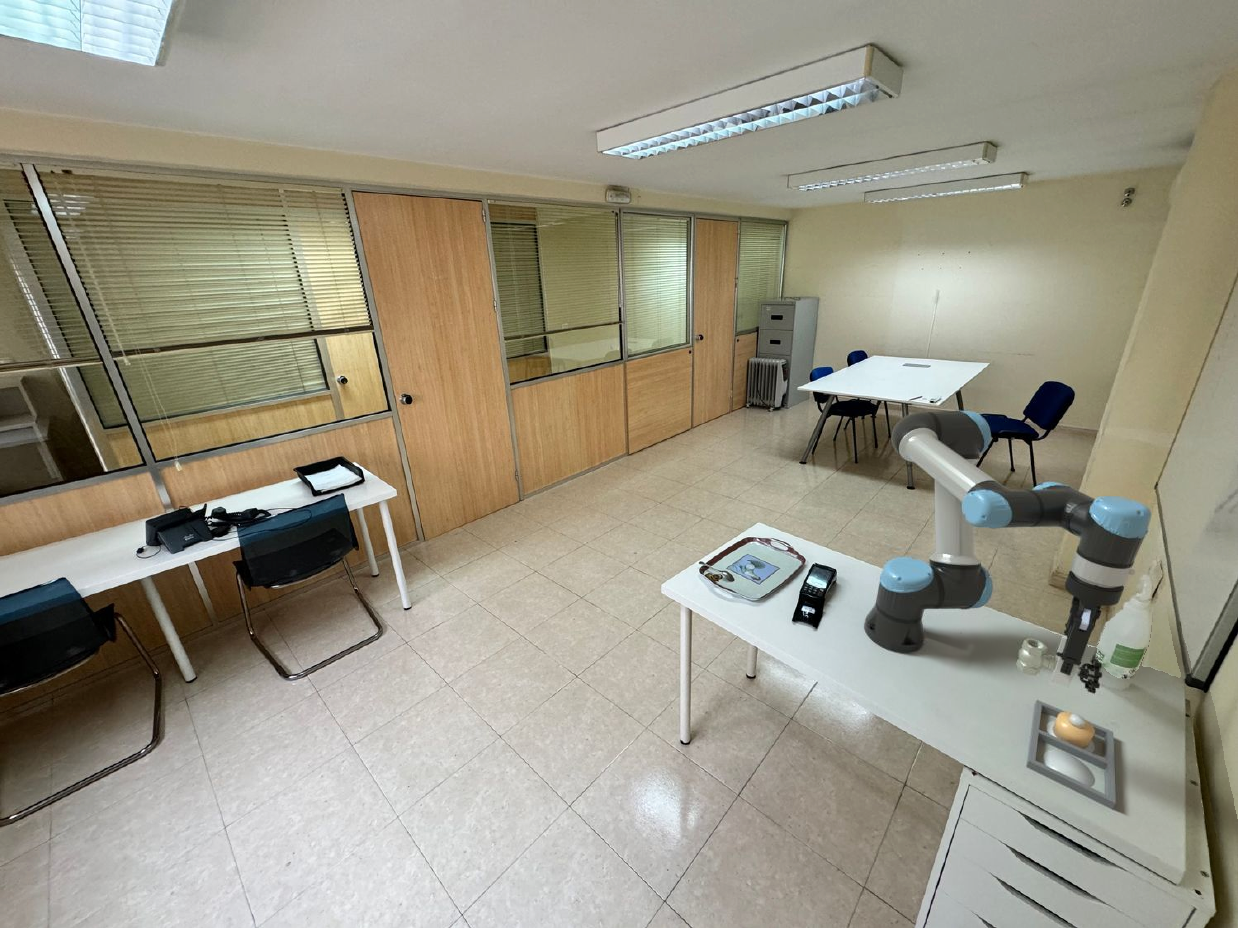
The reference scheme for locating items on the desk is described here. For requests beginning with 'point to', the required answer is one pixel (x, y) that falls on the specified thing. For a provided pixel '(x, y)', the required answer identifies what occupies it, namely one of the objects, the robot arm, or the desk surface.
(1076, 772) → the grey divided tray
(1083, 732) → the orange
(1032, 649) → the valve
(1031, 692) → the desk surface
